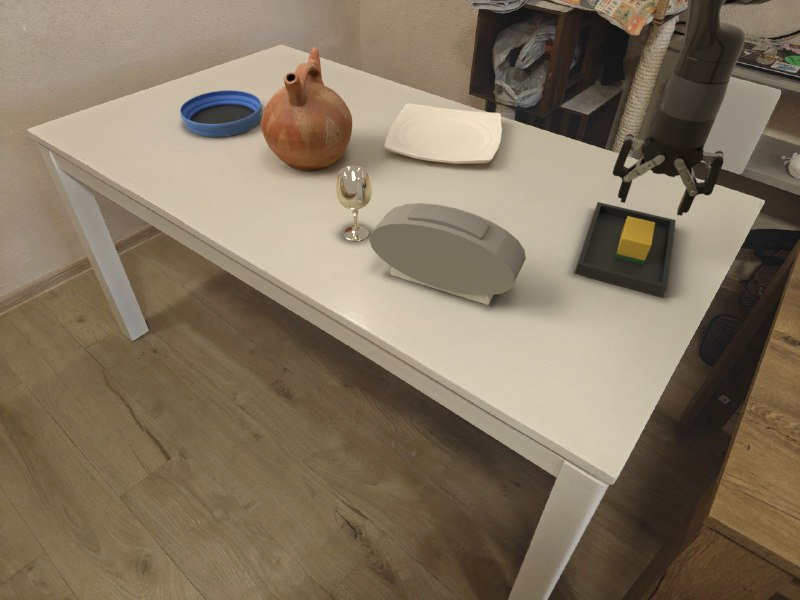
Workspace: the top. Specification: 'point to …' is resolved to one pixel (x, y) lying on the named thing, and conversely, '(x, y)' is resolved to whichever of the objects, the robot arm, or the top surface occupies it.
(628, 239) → the sponge
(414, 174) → the top surface
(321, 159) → the jug
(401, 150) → the plate
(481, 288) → the alarm clock
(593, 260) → the tray
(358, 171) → the wineglass
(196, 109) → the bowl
